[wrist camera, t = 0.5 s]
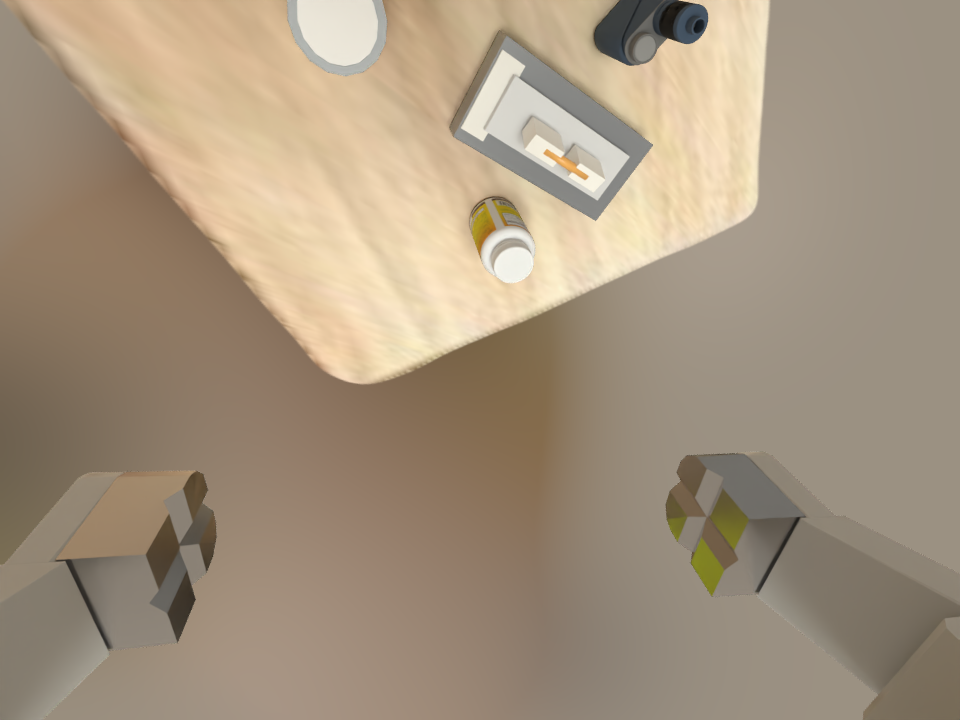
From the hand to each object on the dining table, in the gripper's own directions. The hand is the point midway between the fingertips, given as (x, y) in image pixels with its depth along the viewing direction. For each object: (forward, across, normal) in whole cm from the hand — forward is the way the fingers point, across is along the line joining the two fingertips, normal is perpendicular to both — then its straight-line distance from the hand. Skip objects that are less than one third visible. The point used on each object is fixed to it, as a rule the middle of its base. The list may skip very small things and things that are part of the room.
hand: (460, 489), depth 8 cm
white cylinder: (+43, +6, -12) cm, 45 cm away
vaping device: (+44, -18, -14) cm, 49 cm away
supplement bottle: (+47, -9, +5) cm, 49 cm away
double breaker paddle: (+41, -14, -3) cm, 43 cm away
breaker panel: (+45, -14, -4) cm, 48 cm away
